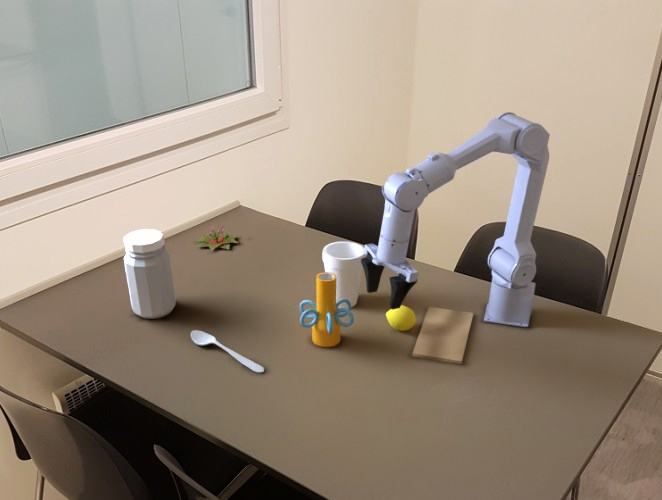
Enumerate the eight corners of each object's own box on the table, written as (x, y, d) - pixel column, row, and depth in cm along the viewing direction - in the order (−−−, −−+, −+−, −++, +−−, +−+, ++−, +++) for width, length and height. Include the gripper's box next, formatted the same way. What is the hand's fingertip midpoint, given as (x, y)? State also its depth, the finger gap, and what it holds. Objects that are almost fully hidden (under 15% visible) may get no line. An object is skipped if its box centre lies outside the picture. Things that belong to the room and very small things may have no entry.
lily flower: (189, 251, 184) (187, 235, 182) (203, 233, 194) (201, 217, 192) (233, 254, 182) (231, 238, 180) (244, 236, 192) (243, 220, 190)
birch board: (473, 316, 155) (473, 312, 155) (461, 364, 139) (462, 361, 139) (428, 309, 158) (428, 306, 158) (412, 356, 142) (412, 353, 141)
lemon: (420, 327, 151) (422, 305, 148) (409, 338, 147) (411, 316, 145) (391, 318, 154) (392, 297, 152) (380, 329, 151) (381, 308, 148)
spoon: (200, 332, 150) (199, 326, 149) (270, 367, 138) (270, 360, 138) (185, 340, 147) (184, 334, 146) (256, 377, 136) (255, 370, 135)
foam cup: (359, 313, 156) (361, 261, 149) (319, 309, 158) (319, 257, 151) (366, 293, 164) (367, 243, 157) (327, 290, 166) (327, 239, 159)
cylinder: (362, 334, 149) (364, 271, 141) (343, 359, 141) (344, 294, 133) (311, 322, 153) (310, 260, 145) (289, 345, 145) (287, 281, 137)
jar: (123, 315, 156) (110, 241, 146) (148, 296, 163) (137, 224, 154) (160, 324, 153) (149, 249, 143) (184, 303, 160) (175, 231, 151)
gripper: (356, 225, 137) (346, 287, 144) (402, 253, 127) (390, 319, 134) (384, 222, 141) (373, 282, 147) (431, 249, 131) (417, 313, 137)
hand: (383, 299), depth 141 cm, fingers open, 7 cm apart
